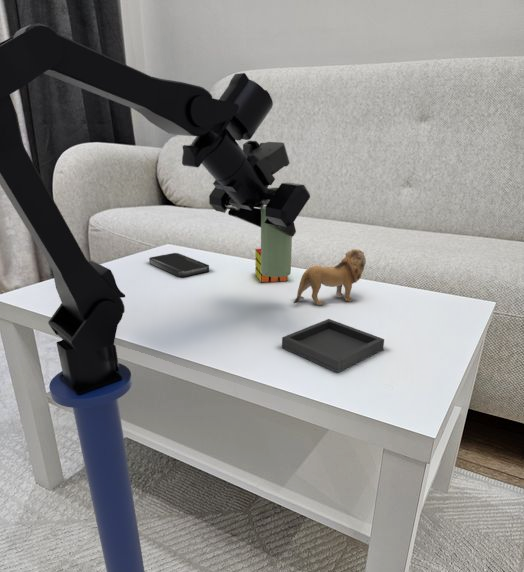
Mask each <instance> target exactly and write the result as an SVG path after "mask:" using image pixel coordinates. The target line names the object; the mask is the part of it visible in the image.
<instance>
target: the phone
mask: <svg viewBox="0 0 524 572" xmlns="http://www.w3.org/2000/svg"><path fill="white" fill-rule="evenodd" d="M148 260H149V264H150V265H152V266H154V267H157V268H159V269H161V270H163V271H166V272H167V273H170V274H172V275H175V276H177V277H179V278H183V277H189V276H193V275H199V274H204V273H208V272H210V265H209V264H208V263H204V262H202V261H199V260H196V259H195V258H191V257H189V256H186V255H184V254H182V253H179V252H171V253H166V254H161V255H155V256H151V257H148Z"/></svg>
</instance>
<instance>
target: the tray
mask: <svg viewBox="0 0 524 572" xmlns="http://www.w3.org/2000/svg"><path fill="white" fill-rule="evenodd" d="M384 345H385V338H382V337H379V336H377V335H374V334H371V333H369V332H366V331H363V330H361V329H357V328H355V327H352V326H350V325H347V324H345V323H341V322H339V321H336V320H333V319H330V318H327V319H325V320H322V321H319V322H317V323H315V324H312V325H310V326H307V327H304V328H302V329H300V330H297V331H294V332H292V333H289V334H287V335H284V336H282V337H281V348H282V349H284V350H286V351H287V352H288V351H289V352H290V353H292V354H293V353H294V354H295V355H297V356H300V357H301V358H304V359H306V360H308V361H310V362H313V363H315V364H317V365H319V366H321V367H323V368H326V369H328V370H330V371H333V372H335V373H337V374H339V373H340V372H342V371H344V370H345V369H348V368H350V367H352V366H354V365H355V364H357V363H359V362H361V361H364V360H365V359H368V358H370V357H371V356H374V355H375V354H377V353H380V352H381V351H383V350H384Z"/></svg>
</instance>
